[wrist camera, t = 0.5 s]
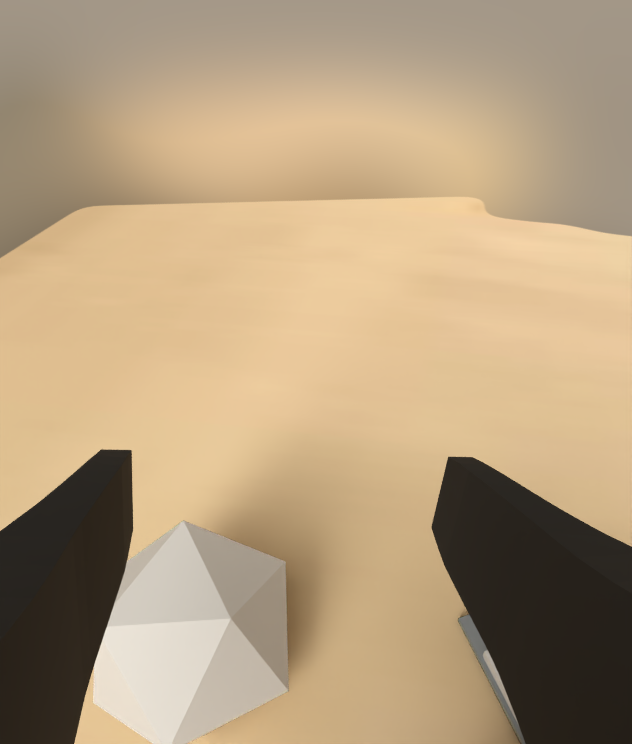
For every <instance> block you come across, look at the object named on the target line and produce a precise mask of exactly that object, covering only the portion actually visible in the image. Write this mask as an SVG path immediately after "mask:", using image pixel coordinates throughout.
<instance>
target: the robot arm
mask: <svg viewBox="0 0 632 744" xmlns="http://www.w3.org/2000/svg"><path fill="white" fill-rule="evenodd" d="M432 530H433V533H434V536H435V540H436V543H437V546H438V549H439V552H440V554H441V557H442V560H443V562H444V565H445V567H446V569H447V571H448V574H449V576H450V578H451V580H452V582H453V584H454V586H455V588H456V590H457V591H458V593H459V595H460V597H461V599H462V601H463V603H464V605H465V607H466V609H467V611H468V613H469V615H470V617H471V619H472V621H473V623H474V625H475V627H476V628H477V630H478V632H479V634H480V636H481V638H482V640H483V642H484V644H485V646H486V648H487V650H488V652H489V654H490V656H491V658H492V660H493V662H494V665H495V667H496V669H497V671H498V673H499V676H500V678H501V681H502V683H503V686H504V688H505V691H506V694H507V696H508V699H509V701H510V704H511V706H512V709H513V711H514V714H515V716H516V719H517V722H518V724H519V727H520V730H521V733H522V735H523V738H524V741H525V744H632V547H631V546H629V545H627V544H625V543H623V542H621V541H618V540H616V539H614V538H612V537H610V536H608V535H606V534H604V533H602V532H601V531H599V530H597V529H595V528H593V527H591V526H589V525H588V524H586V523H584V522H582V521H580V520H579V519H577V518H575V517H573V516H571V515H570V514H568V513H566V512H564V511H563V510H561V509H559V508H558V507H556V506H554V505H552V504H551V503H549V502H547V501H546V500H544V499H542V498H541V497H539V496H538V495H536V494H534V493H533V492H531V491H529V490H528V489H526V488H525V487H523V486H521V485H520V484H518V483H517V482H515V481H513V480H512V479H510V478H508V477H507V476H505V475H504V474H502V473H500V472H499V471H497V470H495V469H493V468H492V467H490V466H488V465H487V464H485V463H483V462H481V461H479V460H477V459H475V458H473V457H448V460H447V464H446V469H445V473H444V477H443V481H442V485H441V490H440V494H439V498H438V502H437V506H436V511H435V515H434V519H433V523H432ZM132 532H133V502H132V452H131V450H100V451H99V452H98V453H97V454H96V455H94V456H93V457H92V458H91V459H89V460H88V461H87V462H86V463H85V464H84V465H83V466H81V467H80V468H79V469H78V470H77V471H76V472H75V473H73V474H72V475H71V476H70V477H69V478H68V479H66V480H65V481H64V482H63V483H62V484H61V485H59V486H58V487H57V488H56V489H55V490H53V491H52V492H51V493H50V494H49V495H47V496H46V497H45V498H44V499H42V500H41V501H40V502H39V503H38V504H36V505H35V506H34V507H32V508H31V509H29V510H28V511H27V512H25V513H24V514H23V515H21V516H20V517H19V518H17V519H16V520H15V521H13V522H12V523H11V524H9V525H8V526H7V527H5V528H4V529H2V530H1V531H0V744H74V742H75V737H76V733H77V729H78V724H79V720H80V715H81V711H82V707H83V702H84V698H85V694H86V691H87V687H88V684H89V680H90V677H91V673H92V670H93V667H94V664H95V661H96V658H97V655H98V652H99V649H100V646H101V643H102V640H103V637H104V634H105V631H106V628H107V625H108V622H109V619H110V616H111V613H112V610H113V607H114V603H115V600H116V597H117V594H118V591H119V588H120V585H121V582H122V579H123V576H124V572H125V568H126V563H127V558H128V553H129V548H130V542H131V537H132Z"/></svg>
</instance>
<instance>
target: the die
mask: <svg viewBox="0 0 632 744" xmlns="http://www.w3.org/2000/svg"><path fill="white" fill-rule="evenodd" d="M288 691H289V684H288V642H287V600H286V561H283V560H281V559H278V558H276V557H273V556H271V555H268V554H266V553H263V552H261V551H258V550H256V549H253V548H251V547H248V546H246V545H243V544H241V543H238V542H236V541H233V540H231V539H228V538H226V537H223V536H221V535H218V534H216V533H213V532H211V531H208V530H206V529H203V528H201V527H198V526H196V525H193V524H191V523H188V522H186V521H182V522H181V523H179V524H178V525H176V526H175V527H174V528H172V529H171V530H170V531H168V532H167V533H165V534H164V535H163V536H161V537H160V538H159V539H157V540H156V541H154V542H153V543H152V544H150V545H149V546H148V547H146V548H145V549H143V550H142V551H141V552H139V553H138V554H137V555H135V556H134V557H132V558H131V559H130V560H128V561H127V563H126V568H125V572H124V576H123V579H122V582H121V585H120V588H119V591H118V594H117V597H116V600H115V603H114V607H113V610H112V613H111V616H110V619H109V622H108V625H107V628H106V631H105V634H104V637H103V640H102V643H101V646H100V649H99V652H98V655H97V658H96V661H95V664H94V691H93V703H94V704H96V705H97V706H99V707H100V708H102V709H103V710H104V711H106V712H107V713H109V714H110V715H112V716H113V717H115V718H116V719H118V720H119V721H121V722H122V723H123V724H125V725H126V726H128V727H129V728H131V729H132V730H134V731H135V732H137V733H138V734H140V735H141V736H142V737H144V738H145V739H147V740H148V741H150V742H151V743H153V744H187V743H189V742H191V741H193V740H195V739H197V738H199V737H201V736H204V735H206V734H207V733H209V732H211V731H213V730H215V729H217V728H219V727H221V726H223V725H225V724H227V723H229V722H230V721H232V720H234V719H236V718H238V717H240V716H242V715H244V714H246V713H248V712H250V711H252V710H253V709H255V708H257V707H259V706H261V705H263V704H265V703H267V702H269V701H271V700H273V699H274V698H276V697H278V696H280V695H282V694H284V693H286V692H288Z"/></svg>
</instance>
